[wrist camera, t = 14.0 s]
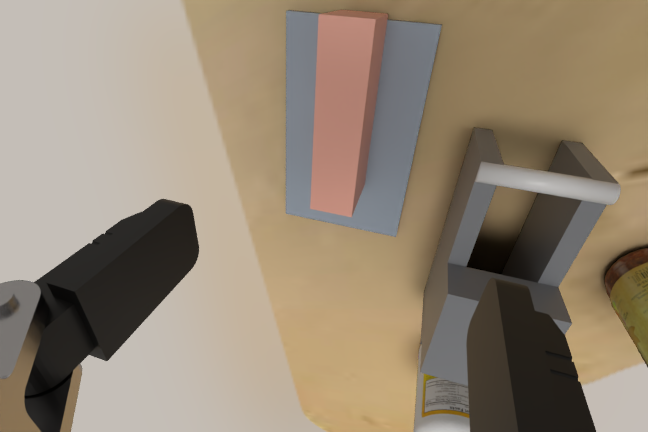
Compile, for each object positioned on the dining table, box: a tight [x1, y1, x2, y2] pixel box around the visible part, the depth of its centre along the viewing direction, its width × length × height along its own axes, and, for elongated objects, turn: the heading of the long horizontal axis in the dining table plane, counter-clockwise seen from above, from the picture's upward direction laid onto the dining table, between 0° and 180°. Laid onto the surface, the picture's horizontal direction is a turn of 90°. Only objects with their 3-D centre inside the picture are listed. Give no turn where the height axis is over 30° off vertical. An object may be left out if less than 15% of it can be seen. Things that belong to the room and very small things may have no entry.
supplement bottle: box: [414, 344, 470, 432], centre depth 31 cm, size 7×7×13 cm
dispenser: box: [420, 127, 621, 386], centre depth 25 cm, size 16×7×9 cm, turn 176°
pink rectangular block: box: [310, 10, 388, 217], centre depth 24 cm, size 12×3×5 cm, turn 176°
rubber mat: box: [286, 10, 442, 237], centre depth 27 cm, size 16×10×1 cm, turn 176°
